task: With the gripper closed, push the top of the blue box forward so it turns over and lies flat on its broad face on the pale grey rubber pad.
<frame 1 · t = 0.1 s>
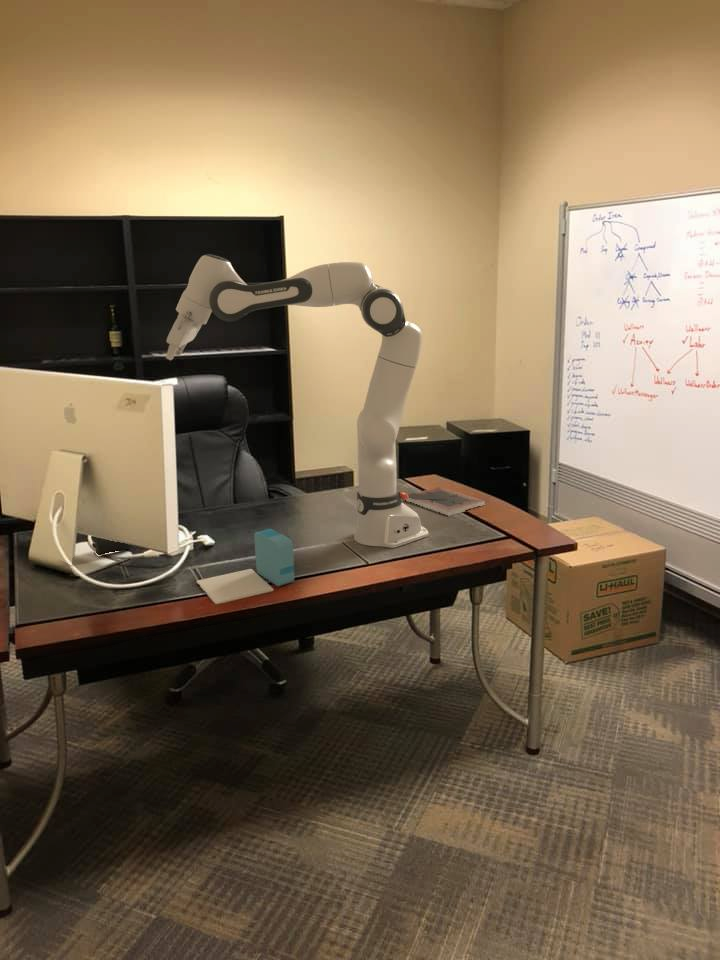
hand: (172, 356, 204), 54 cm above the table, tool tilted 30°, fingers open, 8 cm apart
end cap: (113, 553, 212), on the table
picture frame: (443, 505, 251), on the table
blue box: (275, 579, 193), on the table
grey pad: (234, 586, 188), on the table
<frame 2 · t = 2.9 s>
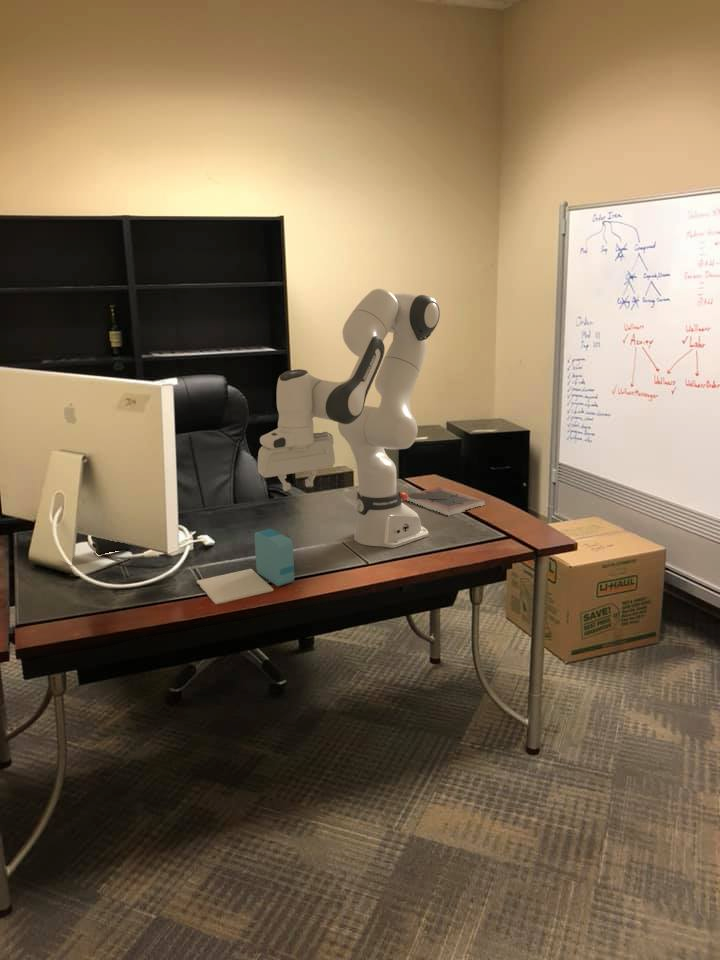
hand: (298, 488, 190), 23 cm above the table, tool pointing down, fingers open, 5 cm apart
nothing on the table moved.
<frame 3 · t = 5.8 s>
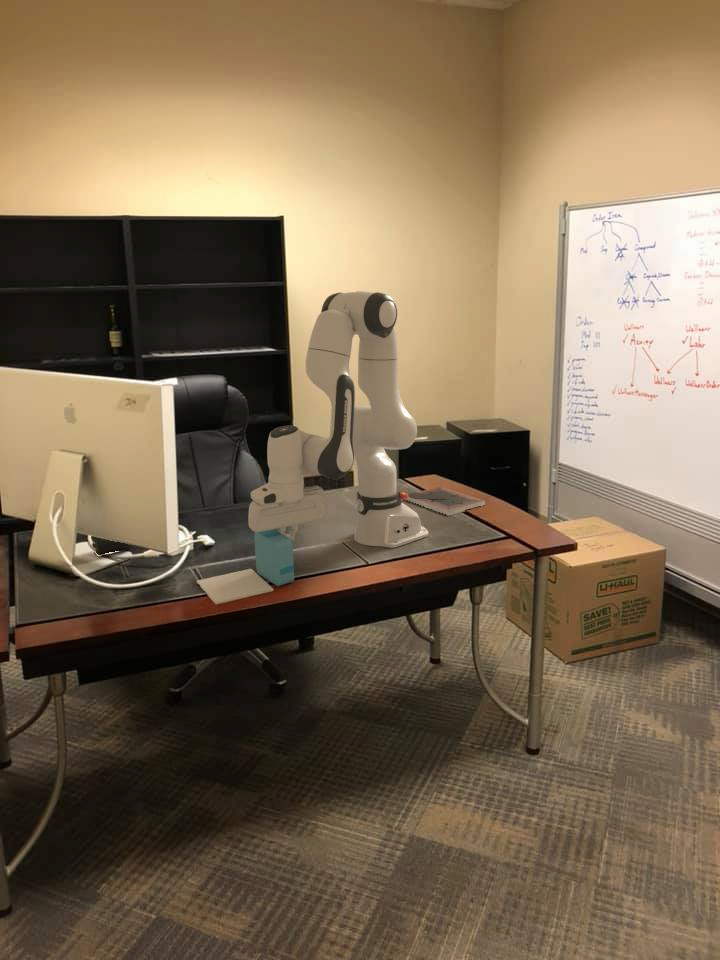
hand: (288, 541, 192), 9 cm above the table, tool pointing down, fingers closed
blue box: (275, 578, 193), on the table, touching gripper
everything else where it was.
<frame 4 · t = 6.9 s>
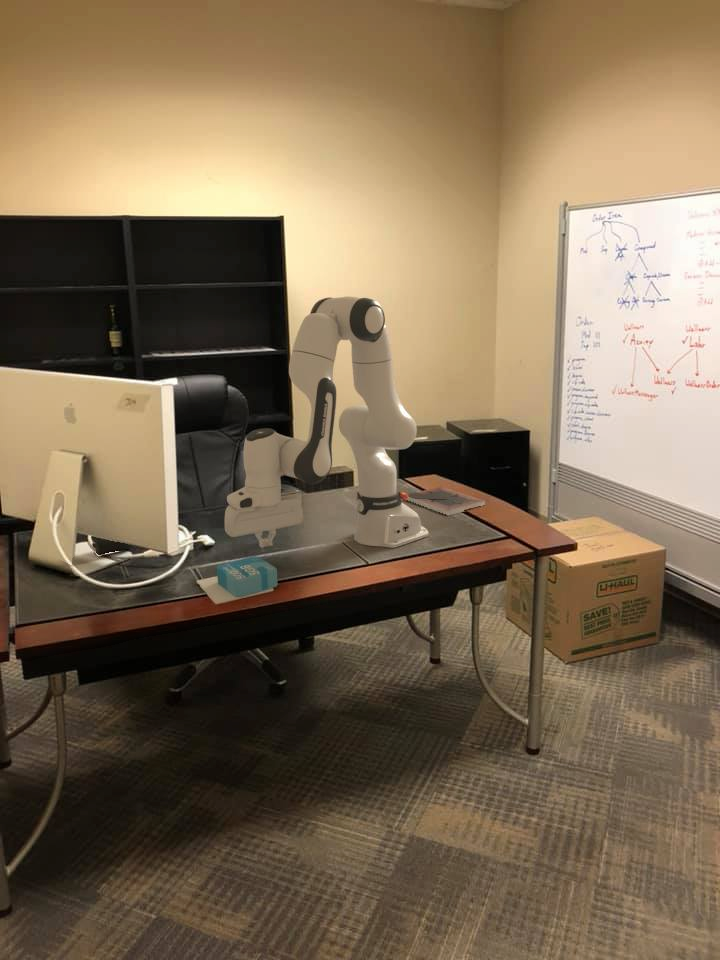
hand: (265, 546, 189), 9 cm above the table, tool pointing down, fingers closed
blue box: (268, 570, 191), point 3 cm above the table, touching grey pad
everything else where it was.
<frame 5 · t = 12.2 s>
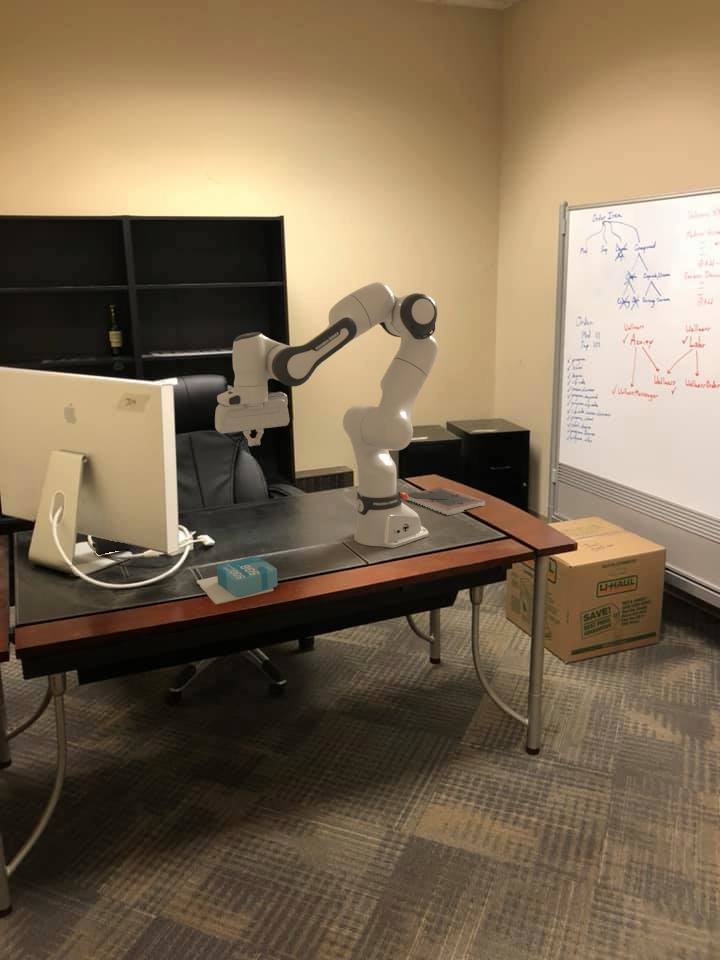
hand: (254, 445, 201), 31 cm above the table, tool pointing down, fingers closed
nothing on the table moved.
at the end: blue box tilted 90°; blue box touching grey pad; blue box inside the target area (2.7 cm from its centre), point 2.8 cm above the table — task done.
